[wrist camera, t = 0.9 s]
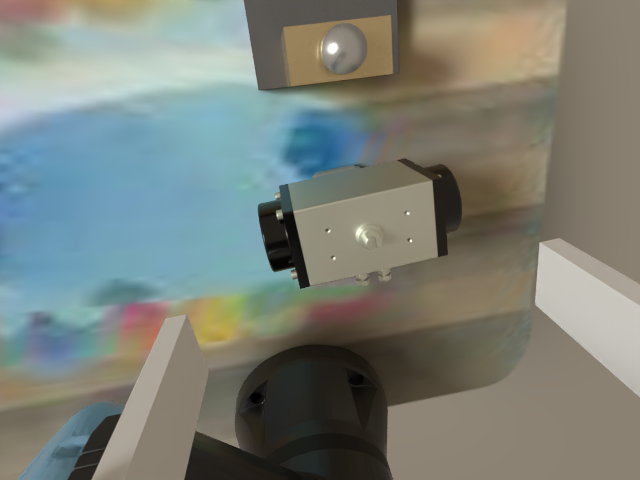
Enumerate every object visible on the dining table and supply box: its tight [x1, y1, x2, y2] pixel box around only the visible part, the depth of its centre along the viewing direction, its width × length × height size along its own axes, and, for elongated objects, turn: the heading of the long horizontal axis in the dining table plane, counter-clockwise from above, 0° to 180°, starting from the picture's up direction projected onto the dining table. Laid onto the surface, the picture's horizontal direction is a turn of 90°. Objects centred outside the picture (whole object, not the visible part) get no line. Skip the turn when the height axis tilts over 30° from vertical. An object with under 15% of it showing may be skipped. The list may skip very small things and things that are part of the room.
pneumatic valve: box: [258, 159, 462, 289], centre depth 26 cm, size 6×12×12 cm, turn 101°
